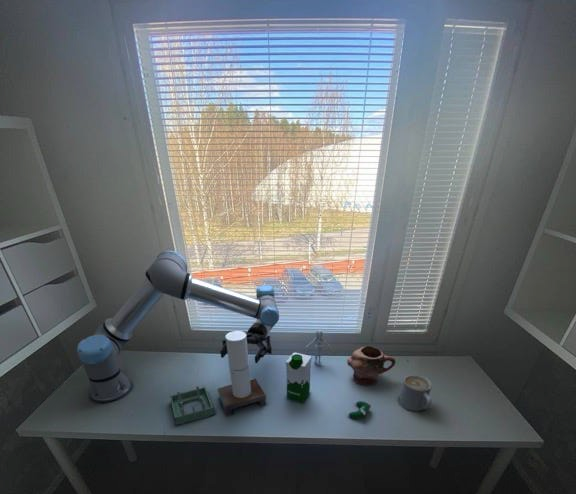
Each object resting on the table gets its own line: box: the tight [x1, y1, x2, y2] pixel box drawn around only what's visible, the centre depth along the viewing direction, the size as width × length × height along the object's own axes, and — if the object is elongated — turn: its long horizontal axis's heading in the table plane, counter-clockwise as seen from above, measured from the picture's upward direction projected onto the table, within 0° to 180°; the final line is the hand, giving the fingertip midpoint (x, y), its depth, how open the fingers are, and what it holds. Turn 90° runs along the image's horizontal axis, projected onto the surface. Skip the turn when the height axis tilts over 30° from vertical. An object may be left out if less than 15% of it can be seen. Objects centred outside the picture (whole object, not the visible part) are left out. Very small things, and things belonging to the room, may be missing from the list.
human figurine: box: [305, 329, 332, 366], centre depth 146 cm, size 12×4×18 cm, turn 90°
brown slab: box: [217, 378, 267, 416], centre depth 128 cm, size 12×16×5 cm
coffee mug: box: [398, 374, 433, 412], centre depth 124 cm, size 13×10×10 cm
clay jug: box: [346, 345, 396, 386], centre depth 138 cm, size 20×12×14 cm, turn 92°
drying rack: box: [169, 385, 215, 426], centre depth 124 cm, size 14×14×7 cm
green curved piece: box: [348, 400, 372, 419], centre depth 122 cm, size 9×4×6 cm
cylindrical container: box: [225, 330, 251, 398], centre depth 119 cm, size 7×7×25 cm
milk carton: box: [285, 352, 313, 404], centre depth 126 cm, size 9×9×20 cm
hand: (238, 357), depth 118 cm, fingers open, 13 cm apart
